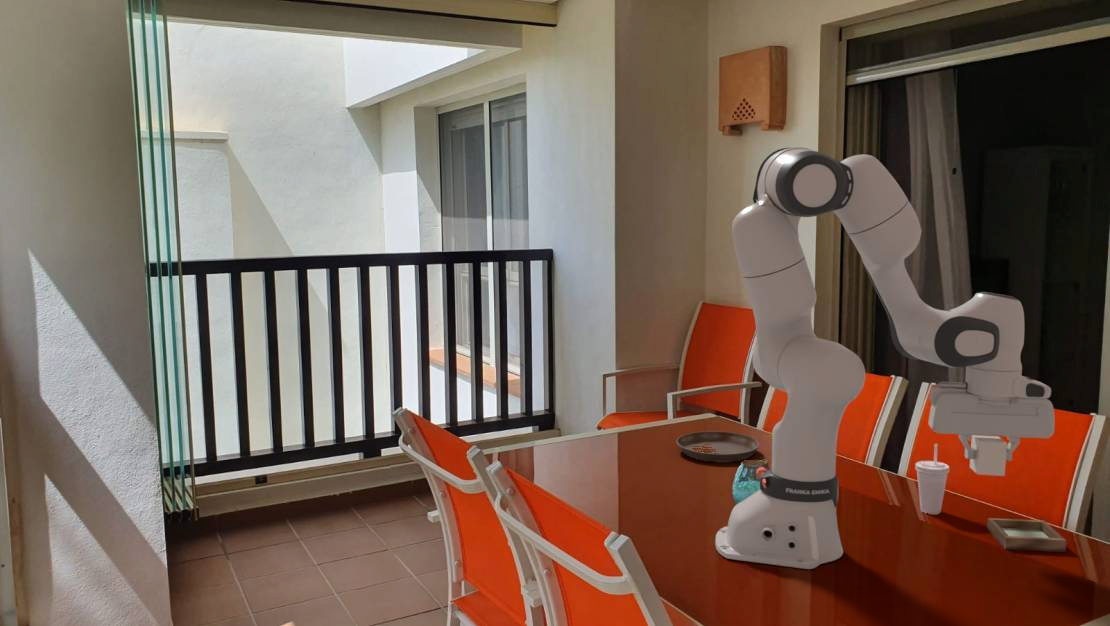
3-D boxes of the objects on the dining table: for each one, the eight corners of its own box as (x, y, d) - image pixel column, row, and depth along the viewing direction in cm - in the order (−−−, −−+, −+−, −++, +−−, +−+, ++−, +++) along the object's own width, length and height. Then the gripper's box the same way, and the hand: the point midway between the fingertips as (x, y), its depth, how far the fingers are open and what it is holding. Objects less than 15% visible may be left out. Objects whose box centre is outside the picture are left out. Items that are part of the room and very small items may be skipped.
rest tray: (1005, 549, 153) (1005, 537, 153) (987, 529, 163) (987, 518, 163) (1065, 552, 152) (1066, 540, 152) (1043, 531, 162) (1044, 520, 161)
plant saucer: (767, 465, 207) (767, 451, 207) (682, 466, 208) (682, 452, 207) (749, 443, 228) (749, 430, 228) (671, 443, 228) (671, 431, 228)
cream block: (977, 474, 152) (979, 441, 151) (969, 467, 156) (971, 435, 155) (1004, 475, 151) (1007, 442, 150) (996, 468, 155) (998, 436, 155)
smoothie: (951, 517, 170) (954, 449, 168) (917, 515, 171) (919, 447, 169) (943, 506, 176) (946, 440, 174) (910, 505, 177) (912, 439, 176)
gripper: (935, 384, 150) (931, 460, 152) (1061, 389, 147) (1055, 467, 148) (926, 378, 156) (922, 451, 158) (1046, 382, 153) (1041, 457, 155)
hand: (987, 459), depth 153 cm, fingers closed on cream block, 4 cm apart
